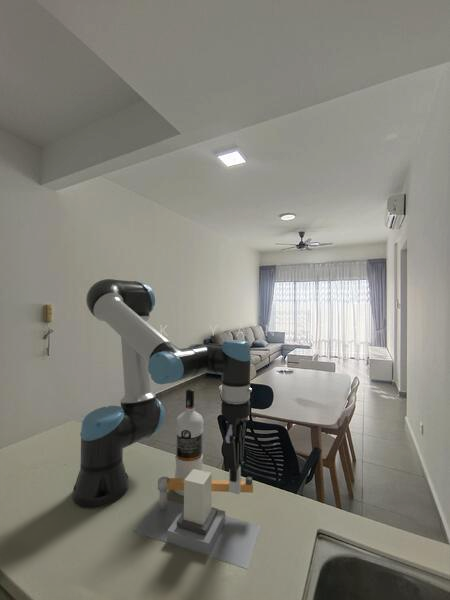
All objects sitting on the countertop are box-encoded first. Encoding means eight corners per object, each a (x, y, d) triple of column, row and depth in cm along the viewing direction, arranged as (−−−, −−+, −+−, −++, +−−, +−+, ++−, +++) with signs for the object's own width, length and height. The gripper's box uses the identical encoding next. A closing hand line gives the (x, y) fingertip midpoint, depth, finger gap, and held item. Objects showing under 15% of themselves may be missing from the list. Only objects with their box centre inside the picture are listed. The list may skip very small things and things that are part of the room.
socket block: (133, 535, 68) (133, 509, 68) (161, 502, 80) (161, 479, 80) (247, 574, 59) (247, 543, 59) (260, 529, 70) (261, 504, 71)
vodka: (208, 483, 89) (209, 386, 90) (196, 502, 80) (198, 395, 81) (181, 477, 92) (183, 384, 93) (167, 495, 83) (169, 392, 84)
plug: (176, 538, 66) (177, 481, 67) (190, 516, 73) (191, 465, 74) (205, 547, 64) (206, 488, 64) (217, 524, 71) (217, 471, 71)
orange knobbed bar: (156, 490, 75) (156, 479, 75) (159, 483, 78) (159, 472, 78) (253, 494, 74) (253, 482, 74) (252, 486, 77) (252, 475, 77)
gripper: (242, 409, 67) (241, 511, 66) (255, 394, 79) (254, 480, 78) (213, 405, 70) (211, 503, 69) (230, 391, 82) (229, 474, 81)
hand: (234, 491), depth 74 cm, fingers closed
